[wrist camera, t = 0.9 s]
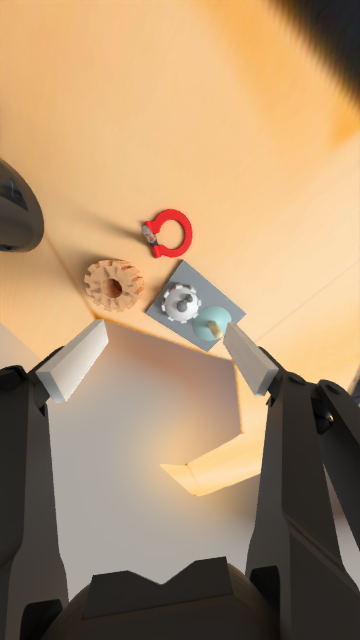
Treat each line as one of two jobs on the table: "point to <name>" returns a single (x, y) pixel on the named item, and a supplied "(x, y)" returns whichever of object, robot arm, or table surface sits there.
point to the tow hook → (154, 227)
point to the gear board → (182, 305)
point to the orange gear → (104, 284)
